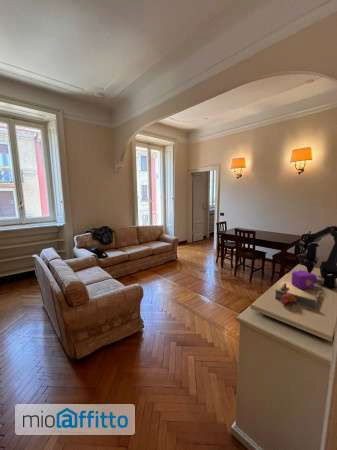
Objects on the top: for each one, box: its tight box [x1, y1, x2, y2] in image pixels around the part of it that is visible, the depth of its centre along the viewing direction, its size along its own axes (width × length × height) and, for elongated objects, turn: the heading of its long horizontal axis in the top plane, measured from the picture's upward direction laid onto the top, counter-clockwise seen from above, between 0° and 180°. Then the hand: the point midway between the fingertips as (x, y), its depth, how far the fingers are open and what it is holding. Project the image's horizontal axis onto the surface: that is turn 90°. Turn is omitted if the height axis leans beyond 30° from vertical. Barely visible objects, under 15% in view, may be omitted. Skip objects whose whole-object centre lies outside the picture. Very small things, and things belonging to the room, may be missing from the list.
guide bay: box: [275, 282, 321, 311], centre depth 120 cm, size 20×19×5 cm
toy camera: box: [291, 269, 318, 290], centre depth 133 cm, size 11×14×10 cm
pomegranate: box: [280, 291, 297, 310], centre depth 111 cm, size 7×7×10 cm
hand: (310, 272), depth 148 cm, fingers open, 9 cm apart
